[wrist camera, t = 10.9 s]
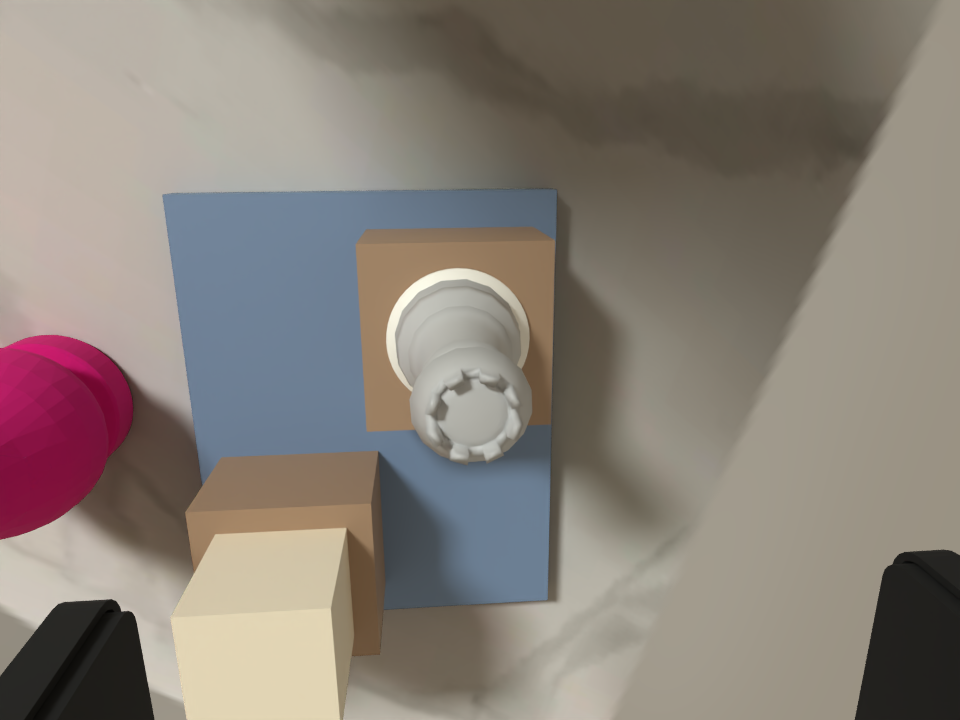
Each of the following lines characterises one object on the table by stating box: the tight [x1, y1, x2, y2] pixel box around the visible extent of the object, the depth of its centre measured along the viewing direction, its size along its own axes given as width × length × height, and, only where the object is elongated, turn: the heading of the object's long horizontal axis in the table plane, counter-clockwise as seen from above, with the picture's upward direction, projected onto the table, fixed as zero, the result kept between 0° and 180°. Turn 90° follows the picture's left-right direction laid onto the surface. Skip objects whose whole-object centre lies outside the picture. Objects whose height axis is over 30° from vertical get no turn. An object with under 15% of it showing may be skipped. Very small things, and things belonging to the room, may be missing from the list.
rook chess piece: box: [395, 279, 532, 465], centre depth 21 cm, size 4×4×8 cm
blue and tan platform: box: [163, 188, 557, 720], centre depth 27 cm, size 20×16×11 cm
